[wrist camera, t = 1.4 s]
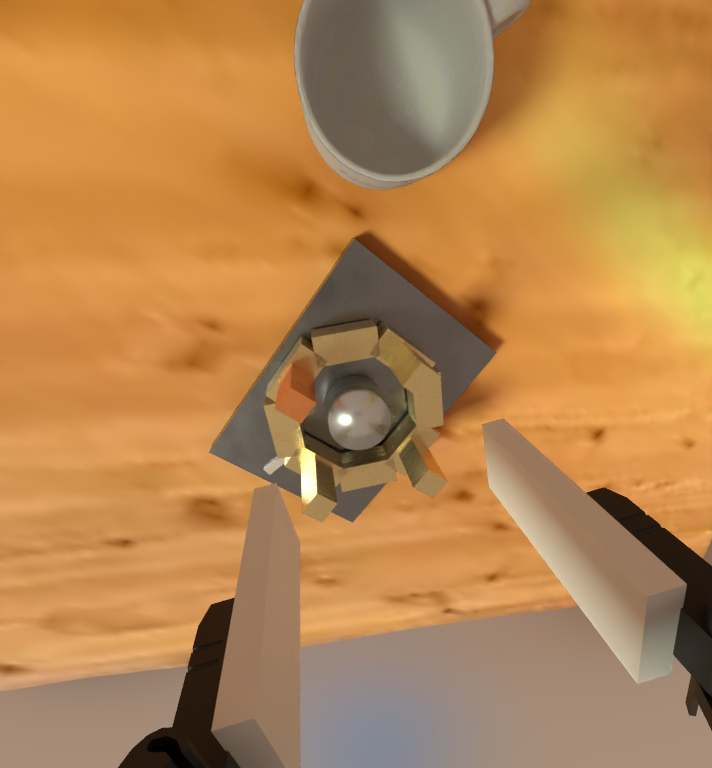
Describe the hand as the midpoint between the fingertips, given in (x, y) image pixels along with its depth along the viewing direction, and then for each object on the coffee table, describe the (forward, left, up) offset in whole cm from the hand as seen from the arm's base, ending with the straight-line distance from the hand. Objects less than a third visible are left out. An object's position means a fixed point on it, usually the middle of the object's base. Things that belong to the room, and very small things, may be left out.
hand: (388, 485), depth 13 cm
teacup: (-6, +16, -21) cm, 28 cm away
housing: (+5, -4, -21) cm, 22 cm away
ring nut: (+5, -4, -19) cm, 20 cm away
